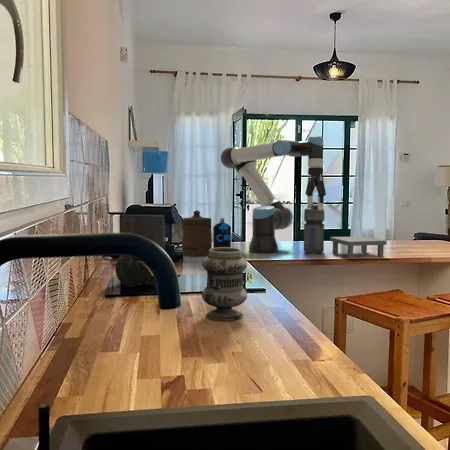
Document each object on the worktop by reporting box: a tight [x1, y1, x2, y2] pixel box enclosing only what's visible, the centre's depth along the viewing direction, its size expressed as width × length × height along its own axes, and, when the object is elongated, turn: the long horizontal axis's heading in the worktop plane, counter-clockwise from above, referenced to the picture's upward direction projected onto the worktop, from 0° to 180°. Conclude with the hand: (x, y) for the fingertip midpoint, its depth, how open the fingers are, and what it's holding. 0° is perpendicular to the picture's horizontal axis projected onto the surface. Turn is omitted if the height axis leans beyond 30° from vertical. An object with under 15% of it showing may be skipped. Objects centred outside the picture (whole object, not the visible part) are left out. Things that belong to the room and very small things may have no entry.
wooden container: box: [181, 210, 213, 257], centre depth 240 cm, size 15×15×22 cm
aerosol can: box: [212, 217, 232, 248], centre depth 215 cm, size 8×8×20 cm
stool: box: [329, 235, 388, 259], centre depth 240 cm, size 20×20×8 cm
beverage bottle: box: [303, 203, 325, 255], centre depth 247 cm, size 10×13×25 cm
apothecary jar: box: [201, 247, 248, 322], centre depth 128 cm, size 12×12×18 cm
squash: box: [114, 255, 155, 288], centre depth 168 cm, size 14×15×15 cm
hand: (315, 209), depth 246 cm, fingers open, 13 cm apart
